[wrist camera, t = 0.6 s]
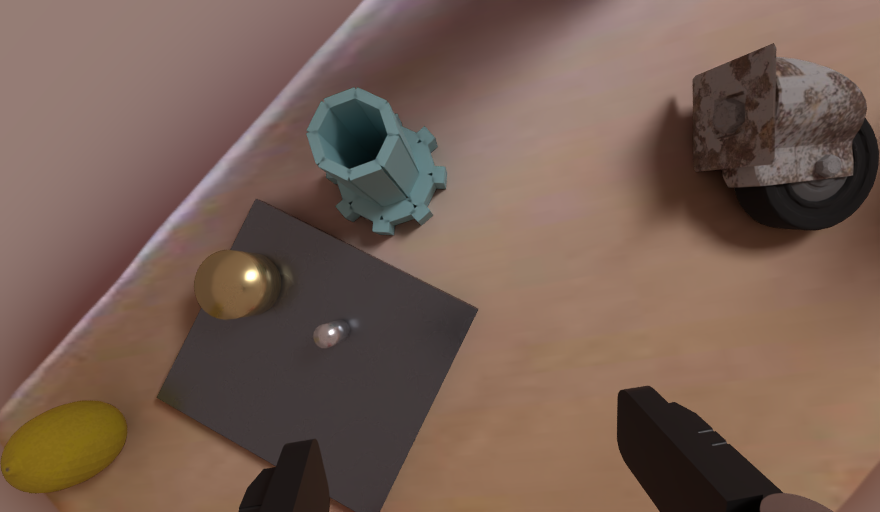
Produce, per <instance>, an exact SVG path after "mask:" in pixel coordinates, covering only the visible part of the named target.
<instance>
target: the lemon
mask: <svg viewBox="0 0 880 512" xmlns="http://www.w3.org/2000/svg"><path fill="white" fill-rule="evenodd" d="M126 437H127V424H126V420H125V418H124V416H123V414H122V413H121V412H120V411H119V410H118V409H117V408H115V407H114V406H112V405H111V404H107V403H104V402H101V401H77V402H73V403H68V404H65V405H61V406H58V407H55V408H53V409H50V410H48V411H46V412H44V413H42V414H41V415H39V416H37V417H35V418H33V419H32V420H30V421H28V422H27V423H25V424H24V425H23V426H22V427H21V428H19V429H18V430H17V431H16V432H15V433H14V434H13V435H12V436H11V438H10V439H9V441H8V443H7V444H6V446H5V448H4V451H3V453H2V456H1V471H2V473H3V476H4V478H5V479H6V481H7V482H8V483H9V484H10V485H11V486H13V487H15V488H16V489H19V490H21V491H24V492H29V493H47V492H54V491H58V490H62V489H65V488H68V487H71V486H74V485H76V484H79V483H81V482H84V481H86V480H88V479H90V478H91V477H93V476H95V475H96V474H98V473H99V472H100V471H102V470H103V469H104V468H106V467H107V466H108V465H109V464H110V463H112V461H113V460H114V459H115V458H116V457H117V455H118V454H119V453H120V451H121V450H122V448H123V446H124V444H125V441H126Z"/></svg>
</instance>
